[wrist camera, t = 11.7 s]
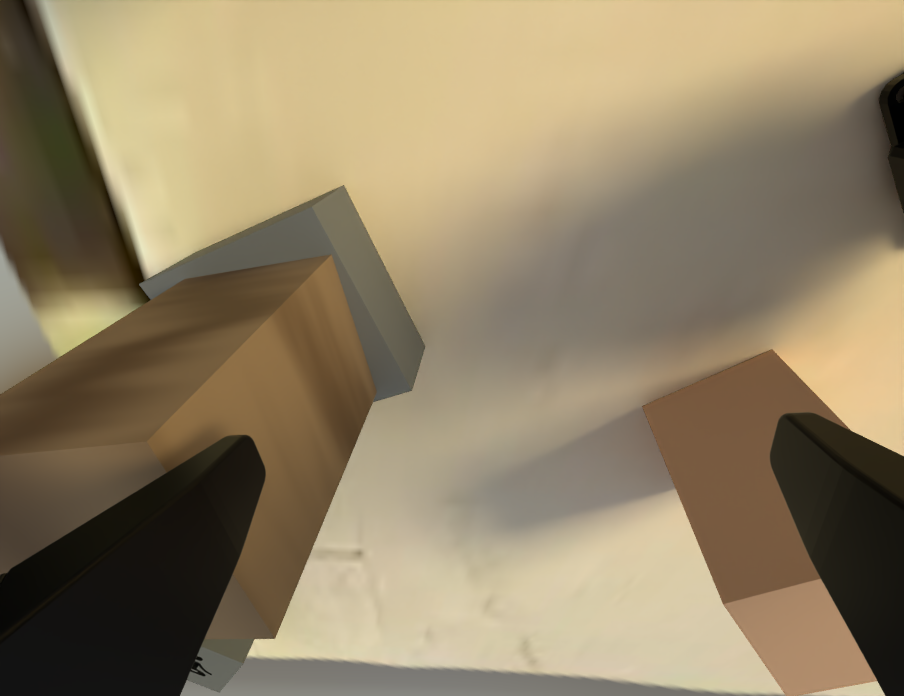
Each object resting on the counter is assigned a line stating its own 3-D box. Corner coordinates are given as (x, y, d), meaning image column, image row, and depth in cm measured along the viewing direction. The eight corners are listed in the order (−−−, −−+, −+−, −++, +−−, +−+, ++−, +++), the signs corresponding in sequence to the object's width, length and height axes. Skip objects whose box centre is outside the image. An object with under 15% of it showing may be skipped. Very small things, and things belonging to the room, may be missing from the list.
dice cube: (192, 592, 35) (148, 664, 31) (211, 559, 33) (167, 632, 29) (253, 619, 36) (219, 692, 32) (276, 589, 34) (243, 663, 30)
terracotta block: (772, 349, 21) (959, 542, 12) (813, 439, 23) (998, 658, 14) (641, 406, 23) (722, 604, 14) (691, 484, 25) (787, 697, 16)
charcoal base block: (346, 183, 19) (311, 206, 16) (426, 343, 23) (411, 390, 19) (197, 251, 22) (139, 284, 18) (290, 387, 25) (255, 437, 22)
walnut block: (331, 254, 17) (146, 441, 8) (377, 391, 20) (275, 638, 11) (184, 278, 18) (-116, 467, 9) (247, 405, 21) (62, 640, 12)
